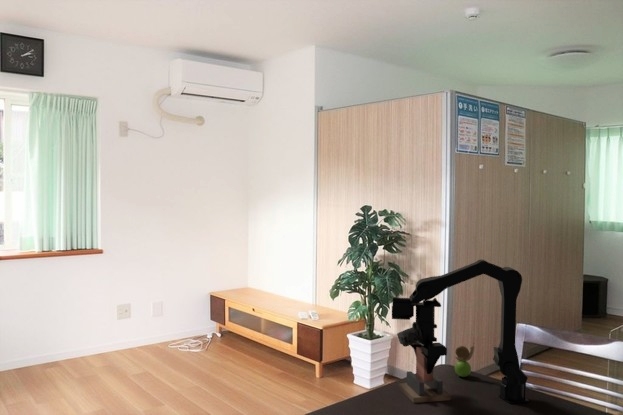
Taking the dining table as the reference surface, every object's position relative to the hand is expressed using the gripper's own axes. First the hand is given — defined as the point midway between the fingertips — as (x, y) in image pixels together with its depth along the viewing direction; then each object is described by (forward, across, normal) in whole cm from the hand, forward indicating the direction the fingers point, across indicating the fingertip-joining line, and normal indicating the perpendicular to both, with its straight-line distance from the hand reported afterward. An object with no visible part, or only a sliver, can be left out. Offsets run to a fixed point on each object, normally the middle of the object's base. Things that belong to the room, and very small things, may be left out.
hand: (424, 370), depth 161 cm
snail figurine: (+8, -12, +20) cm, 24 cm away
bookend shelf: (+7, 0, 0) cm, 7 cm away
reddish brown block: (+2, 0, 0) cm, 2 cm away
